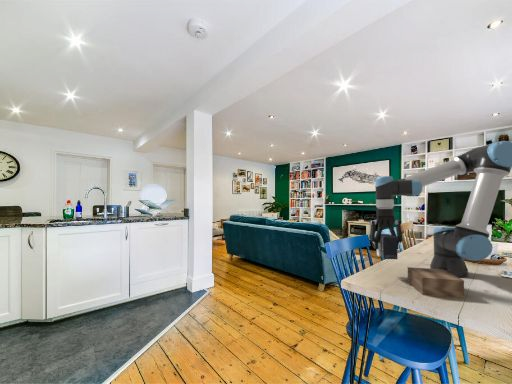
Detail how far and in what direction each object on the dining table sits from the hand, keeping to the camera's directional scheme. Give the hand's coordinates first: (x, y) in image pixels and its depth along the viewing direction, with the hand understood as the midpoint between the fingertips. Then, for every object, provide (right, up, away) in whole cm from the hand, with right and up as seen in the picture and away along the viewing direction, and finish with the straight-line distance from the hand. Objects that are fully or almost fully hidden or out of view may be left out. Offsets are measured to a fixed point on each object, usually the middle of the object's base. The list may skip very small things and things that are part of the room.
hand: (386, 255), depth 112 cm
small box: (0, -1, 0) cm, 1 cm away
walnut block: (+11, -10, -16) cm, 21 cm away
